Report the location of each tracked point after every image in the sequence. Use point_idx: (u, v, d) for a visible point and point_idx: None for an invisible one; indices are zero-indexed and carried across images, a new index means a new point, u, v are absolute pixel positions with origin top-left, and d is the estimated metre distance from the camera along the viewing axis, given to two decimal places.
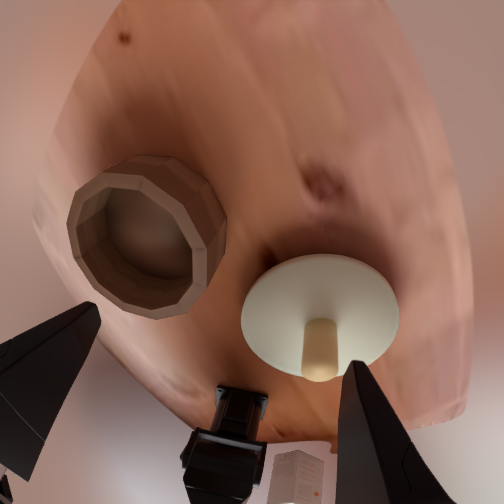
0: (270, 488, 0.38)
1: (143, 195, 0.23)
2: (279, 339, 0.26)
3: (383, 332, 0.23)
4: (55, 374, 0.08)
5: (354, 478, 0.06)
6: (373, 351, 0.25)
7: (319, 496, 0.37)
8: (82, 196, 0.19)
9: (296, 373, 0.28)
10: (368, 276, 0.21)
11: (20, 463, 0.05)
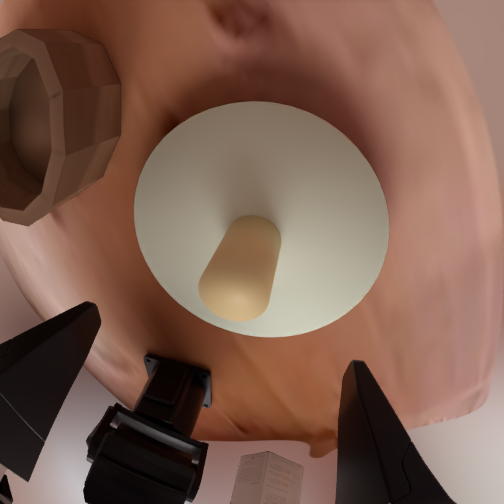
0: (232, 497, 0.29)
1: (39, 79, 0.14)
2: (192, 261, 0.17)
3: (363, 246, 0.14)
4: (55, 374, 0.08)
5: (354, 478, 0.06)
6: (350, 287, 0.16)
7: None
8: None
9: (231, 327, 0.19)
10: (318, 127, 0.12)
11: (20, 463, 0.05)
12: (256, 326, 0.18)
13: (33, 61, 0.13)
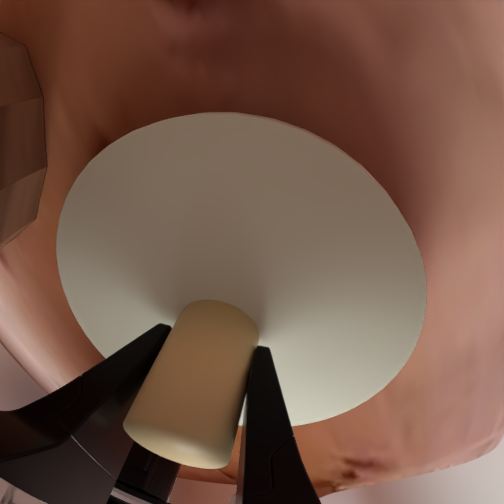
0: None
1: None
2: None
3: (382, 343, 0.09)
4: None
5: (240, 466, 0.06)
6: (358, 386, 0.10)
7: None
8: None
9: None
10: (321, 160, 0.07)
11: None
12: None
13: None
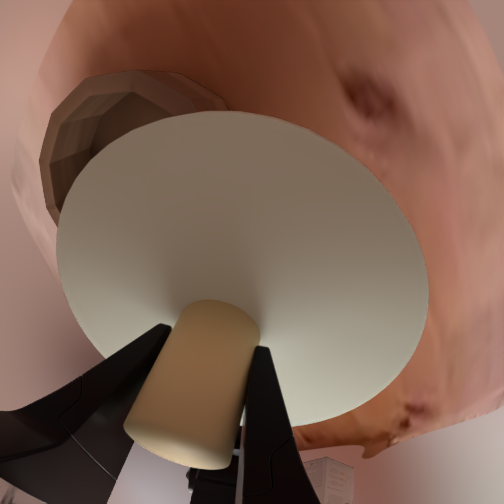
0: None
1: (138, 123, 0.17)
2: None
3: (384, 343, 0.09)
4: None
5: (240, 466, 0.06)
6: (360, 386, 0.10)
7: None
8: (59, 117, 0.13)
9: None
10: (323, 159, 0.06)
11: None
12: None
13: (127, 100, 0.16)
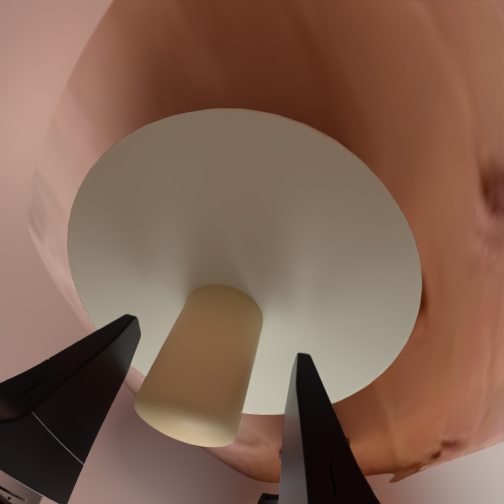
0: None
1: None
2: (148, 332, 0.12)
3: (380, 326, 0.09)
4: (97, 394, 0.07)
5: (289, 474, 0.06)
6: (358, 370, 0.11)
7: None
8: None
9: None
10: (321, 152, 0.07)
11: (59, 490, 0.05)
12: None
13: None
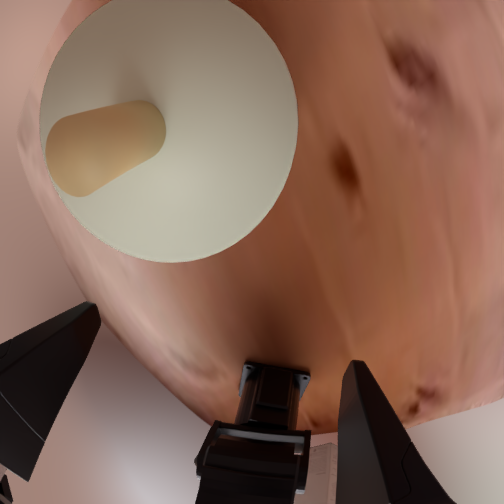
0: None
1: None
2: None
3: (263, 124, 0.11)
4: (55, 374, 0.08)
5: (354, 478, 0.06)
6: (256, 183, 0.12)
7: None
8: None
9: (130, 250, 0.15)
10: None
11: (20, 463, 0.05)
12: (155, 246, 0.15)
13: None
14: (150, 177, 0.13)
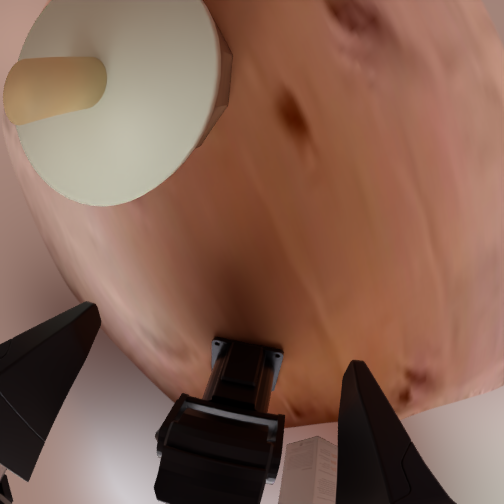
0: (282, 486, 0.30)
1: None
2: (46, 122, 0.13)
3: (184, 58, 0.10)
4: (55, 374, 0.08)
5: (354, 478, 0.06)
6: (181, 112, 0.12)
7: None
8: None
9: (80, 198, 0.15)
10: None
11: (20, 463, 0.05)
12: (100, 190, 0.14)
13: None
14: (94, 122, 0.12)
